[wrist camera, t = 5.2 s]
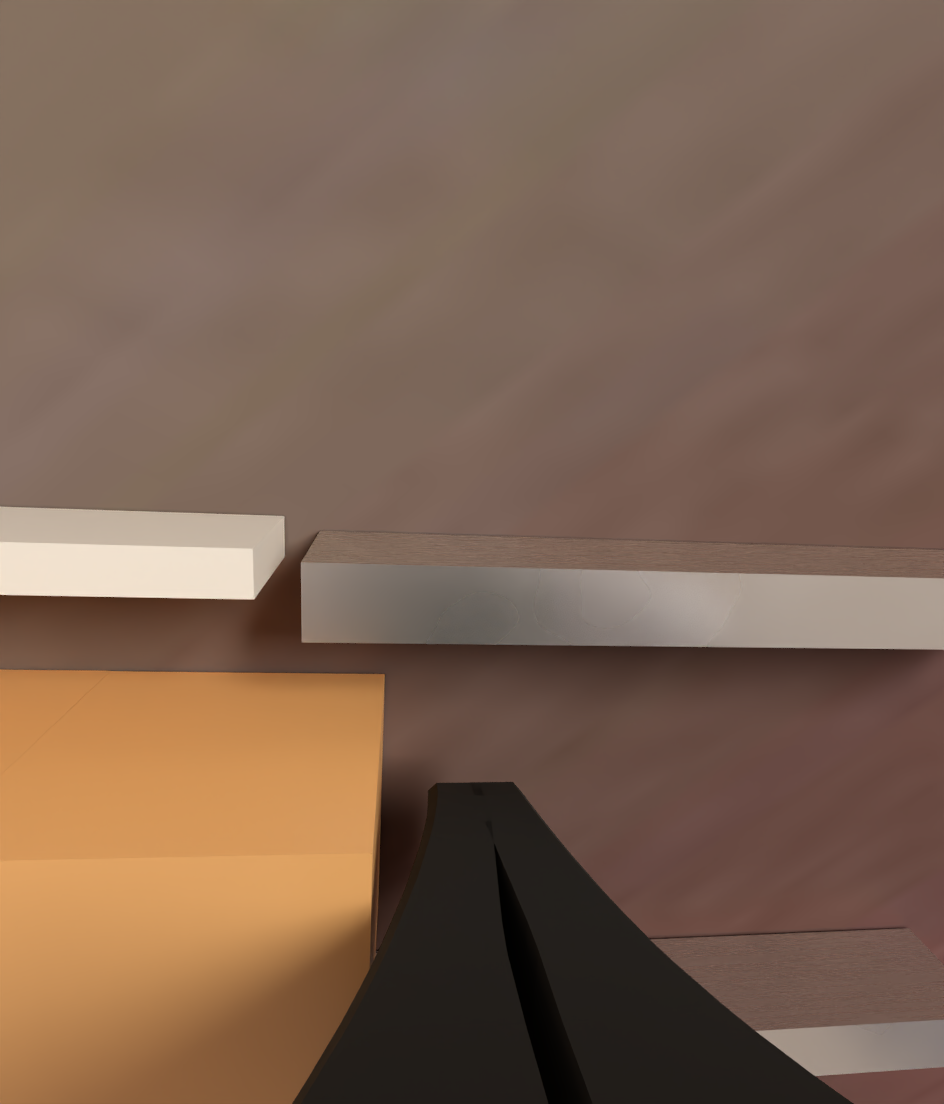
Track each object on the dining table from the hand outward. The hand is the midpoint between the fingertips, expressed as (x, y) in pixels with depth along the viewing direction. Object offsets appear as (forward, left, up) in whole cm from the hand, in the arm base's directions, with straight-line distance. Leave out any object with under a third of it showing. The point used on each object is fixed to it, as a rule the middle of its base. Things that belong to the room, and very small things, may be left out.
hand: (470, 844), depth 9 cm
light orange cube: (+3, 0, -1) cm, 4 cm away
